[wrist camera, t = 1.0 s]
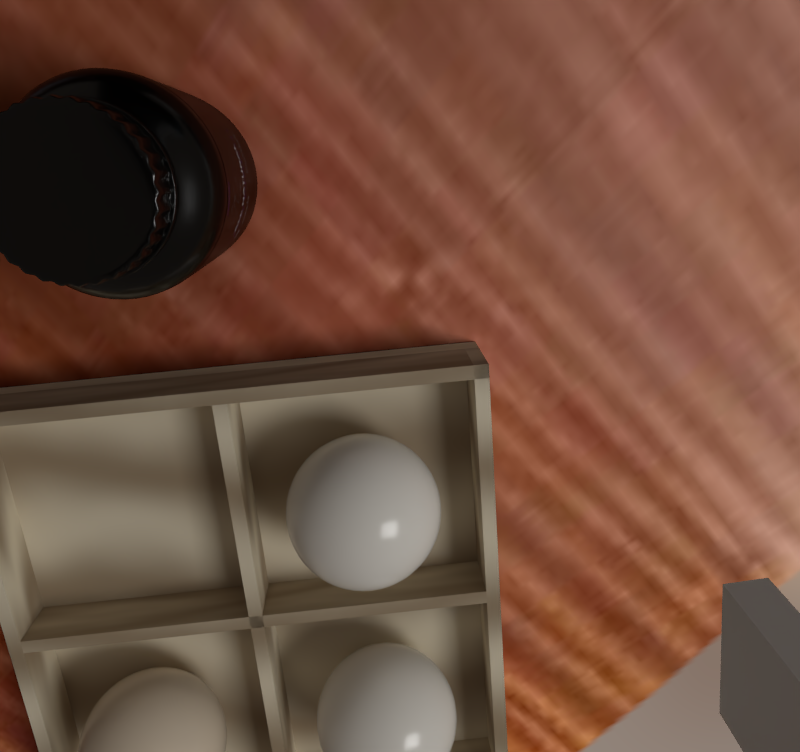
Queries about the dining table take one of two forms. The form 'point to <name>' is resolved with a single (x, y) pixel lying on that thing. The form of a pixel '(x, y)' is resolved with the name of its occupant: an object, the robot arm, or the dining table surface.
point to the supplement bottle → (119, 183)
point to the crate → (238, 539)
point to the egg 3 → (386, 703)
